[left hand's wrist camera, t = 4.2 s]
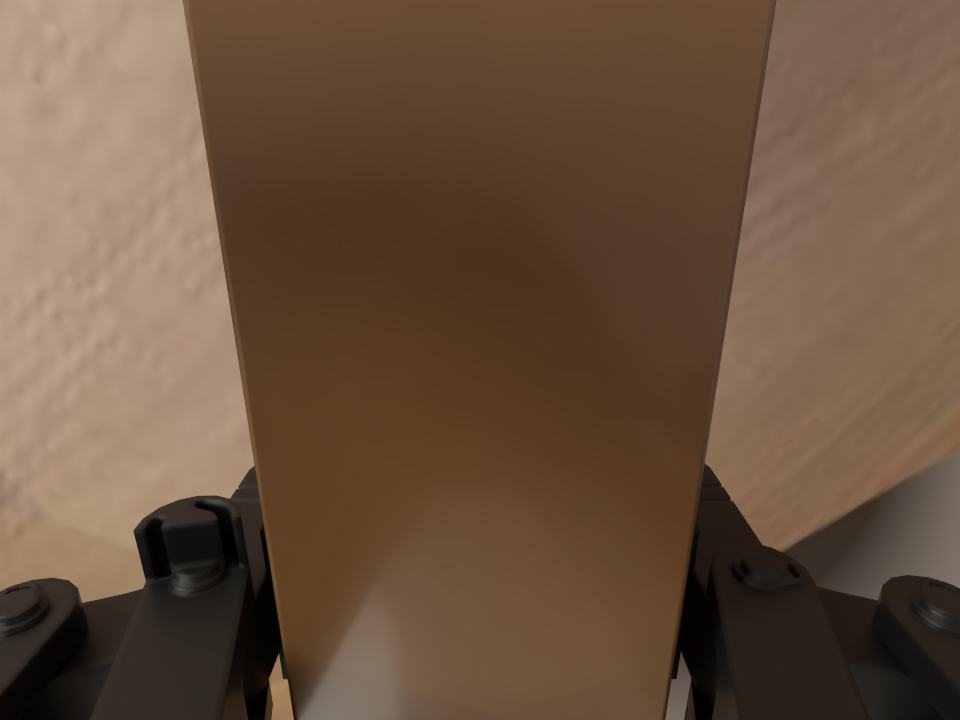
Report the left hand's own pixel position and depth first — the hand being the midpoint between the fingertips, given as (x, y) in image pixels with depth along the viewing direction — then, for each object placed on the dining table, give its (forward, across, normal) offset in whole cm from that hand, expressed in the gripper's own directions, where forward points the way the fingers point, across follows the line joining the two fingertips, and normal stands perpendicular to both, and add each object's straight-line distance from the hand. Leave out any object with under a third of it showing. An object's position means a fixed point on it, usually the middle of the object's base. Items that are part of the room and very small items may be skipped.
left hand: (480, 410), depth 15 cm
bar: (+1, 0, -9) cm, 9 cm away
